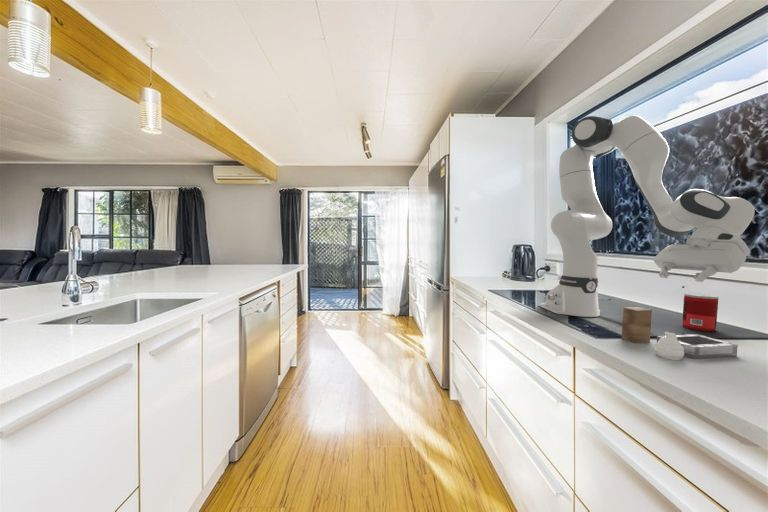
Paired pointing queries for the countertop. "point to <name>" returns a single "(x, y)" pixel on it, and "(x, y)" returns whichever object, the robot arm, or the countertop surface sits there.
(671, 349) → the garlic bulb
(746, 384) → the countertop surface
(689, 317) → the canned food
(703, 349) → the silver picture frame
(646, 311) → the brown rectangular block
